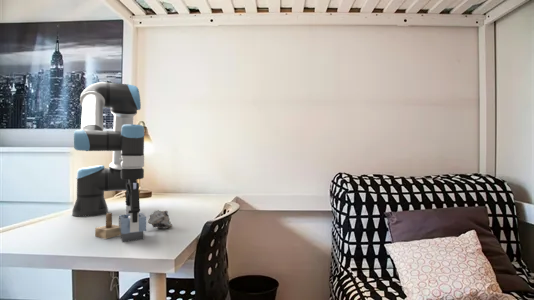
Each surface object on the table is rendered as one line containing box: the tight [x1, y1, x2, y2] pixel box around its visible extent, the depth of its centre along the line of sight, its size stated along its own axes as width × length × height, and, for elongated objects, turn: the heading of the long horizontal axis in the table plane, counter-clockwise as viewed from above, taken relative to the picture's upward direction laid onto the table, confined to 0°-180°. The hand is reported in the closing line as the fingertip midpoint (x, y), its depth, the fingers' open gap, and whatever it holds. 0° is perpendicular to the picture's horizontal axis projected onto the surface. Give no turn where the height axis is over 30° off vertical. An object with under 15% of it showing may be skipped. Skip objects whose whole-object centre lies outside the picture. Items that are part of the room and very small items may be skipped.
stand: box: [94, 212, 121, 240], centre depth 113 cm, size 6×6×8 cm
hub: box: [120, 216, 145, 243], centre depth 109 cm, size 7×7×8 cm
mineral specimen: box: [147, 209, 173, 229], centre depth 124 cm, size 10×8×10 cm
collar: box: [118, 212, 147, 234], centre depth 109 cm, size 8×8×5 cm
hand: (132, 227), depth 109 cm, fingers open, 13 cm apart
